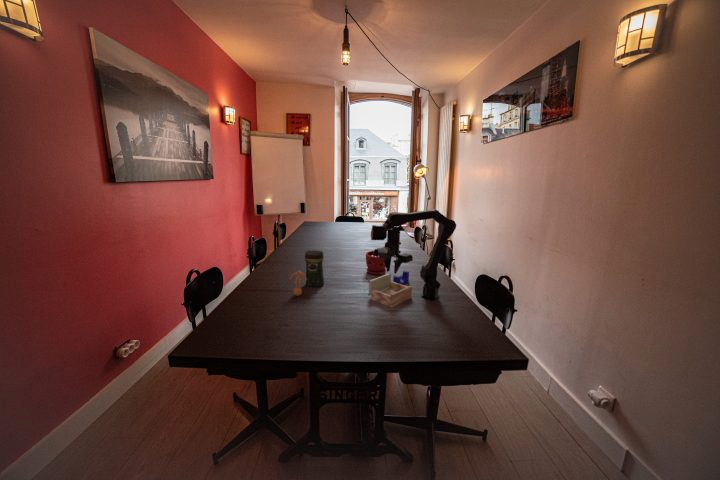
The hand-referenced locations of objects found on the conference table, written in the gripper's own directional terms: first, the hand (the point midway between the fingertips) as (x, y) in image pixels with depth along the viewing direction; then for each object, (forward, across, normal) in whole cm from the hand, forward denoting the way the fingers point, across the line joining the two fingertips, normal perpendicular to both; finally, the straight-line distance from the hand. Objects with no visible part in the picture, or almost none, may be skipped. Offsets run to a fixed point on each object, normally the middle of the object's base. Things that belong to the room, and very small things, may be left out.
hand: (391, 272), depth 139 cm
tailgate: (+11, -7, 0) cm, 13 cm away
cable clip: (+13, -8, +19) cm, 25 cm away
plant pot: (+13, -29, +24) cm, 40 cm away
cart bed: (+13, 0, 0) cm, 13 cm away
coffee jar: (+13, -39, -15) cm, 44 cm away
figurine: (+13, -34, -29) cm, 47 cm away
